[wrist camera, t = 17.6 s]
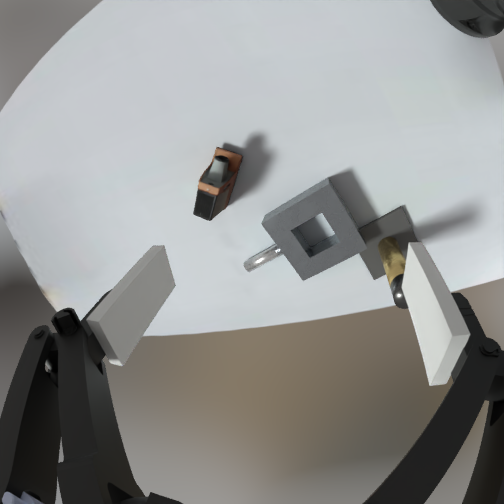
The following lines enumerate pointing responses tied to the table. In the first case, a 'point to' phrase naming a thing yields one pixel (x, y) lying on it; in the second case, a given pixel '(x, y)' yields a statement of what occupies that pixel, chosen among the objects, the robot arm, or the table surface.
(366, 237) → the pad
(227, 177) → the electronic device
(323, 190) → the block
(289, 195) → the table surface
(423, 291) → the robot arm
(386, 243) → the gold and black cylinder
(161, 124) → the table surface
